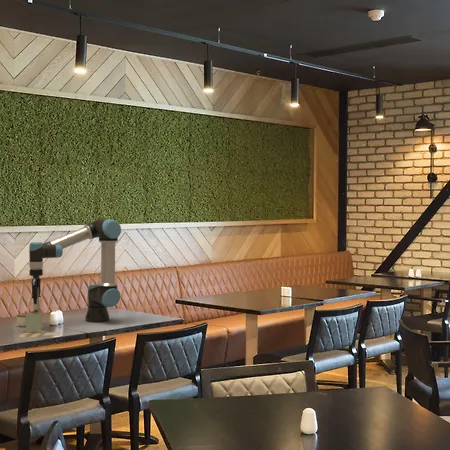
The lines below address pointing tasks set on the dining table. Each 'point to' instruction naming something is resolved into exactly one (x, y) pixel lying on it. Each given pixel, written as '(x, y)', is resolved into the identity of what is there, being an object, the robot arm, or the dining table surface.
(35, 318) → the tile
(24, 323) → the lidded jar
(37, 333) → the board
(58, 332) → the rest pad
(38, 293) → the pusher
